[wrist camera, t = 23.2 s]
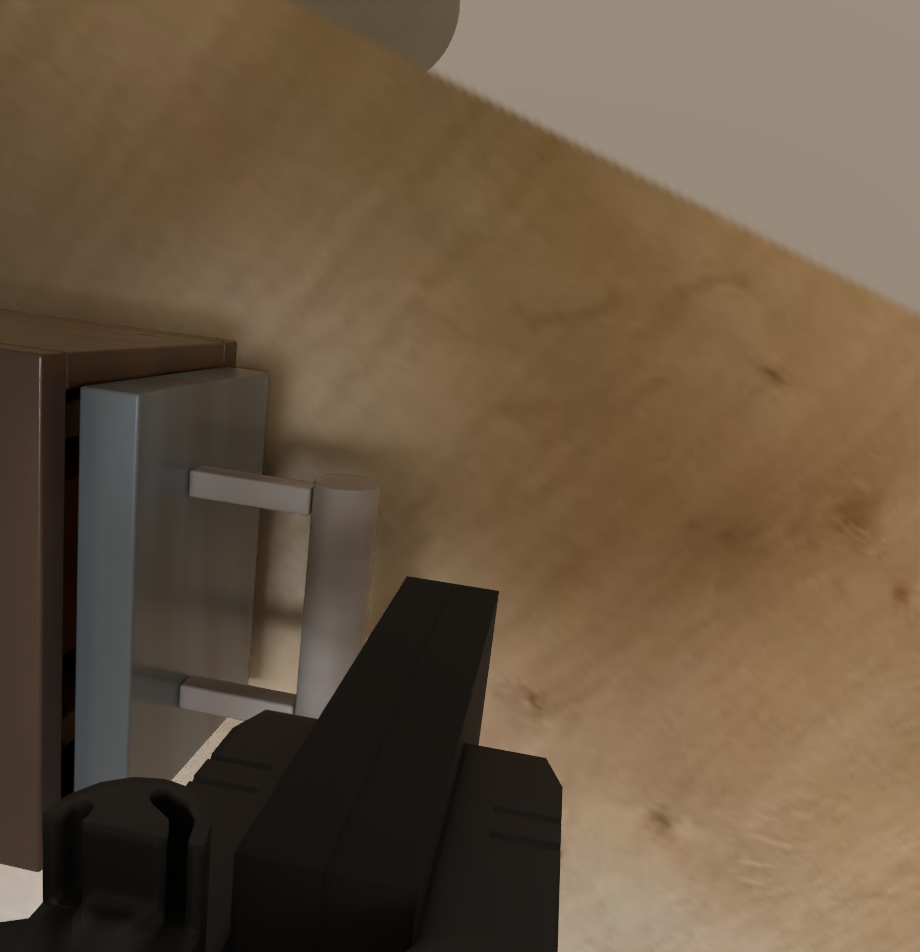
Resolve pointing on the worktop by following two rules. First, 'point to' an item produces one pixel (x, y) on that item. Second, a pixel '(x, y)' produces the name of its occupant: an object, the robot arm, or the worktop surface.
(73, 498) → the block
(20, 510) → the cabinet
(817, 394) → the worktop surface
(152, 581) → the drawer
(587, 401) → the worktop surface
